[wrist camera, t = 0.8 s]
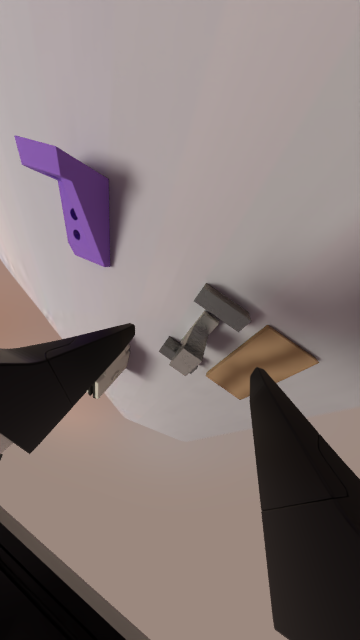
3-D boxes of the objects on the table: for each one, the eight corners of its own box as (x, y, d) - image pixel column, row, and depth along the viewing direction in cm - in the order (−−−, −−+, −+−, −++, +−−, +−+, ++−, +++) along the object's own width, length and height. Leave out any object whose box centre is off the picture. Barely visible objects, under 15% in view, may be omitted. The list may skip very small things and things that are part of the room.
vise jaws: (248, 312, 20) (251, 320, 17) (194, 363, 28) (190, 373, 26) (206, 283, 20) (203, 287, 17) (164, 342, 28) (158, 351, 26)
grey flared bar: (219, 320, 22) (215, 349, 15) (194, 346, 26) (182, 378, 20) (204, 310, 22) (194, 335, 15) (182, 338, 26) (167, 367, 20)
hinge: (112, 327, 32) (71, 354, 24) (130, 334, 31) (94, 364, 23) (117, 364, 39) (86, 394, 31) (132, 370, 38) (105, 404, 30)
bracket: (72, 169, 19) (5, 132, 13) (110, 180, 18) (55, 146, 12) (82, 254, 25) (40, 255, 20) (111, 266, 24) (75, 270, 19)
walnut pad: (315, 358, 20) (319, 362, 19) (239, 395, 28) (240, 399, 28) (267, 324, 20) (269, 327, 19) (206, 372, 28) (205, 376, 28)
